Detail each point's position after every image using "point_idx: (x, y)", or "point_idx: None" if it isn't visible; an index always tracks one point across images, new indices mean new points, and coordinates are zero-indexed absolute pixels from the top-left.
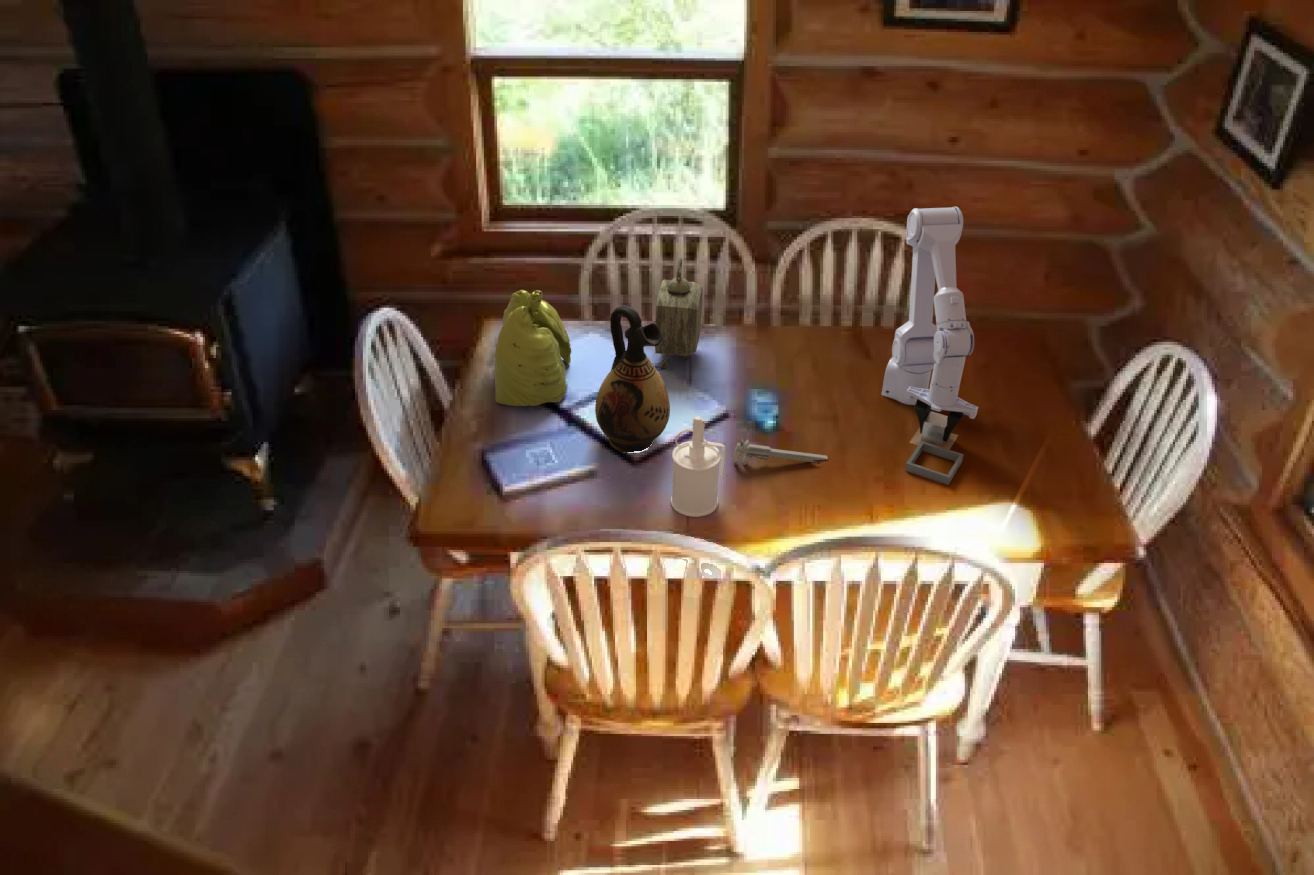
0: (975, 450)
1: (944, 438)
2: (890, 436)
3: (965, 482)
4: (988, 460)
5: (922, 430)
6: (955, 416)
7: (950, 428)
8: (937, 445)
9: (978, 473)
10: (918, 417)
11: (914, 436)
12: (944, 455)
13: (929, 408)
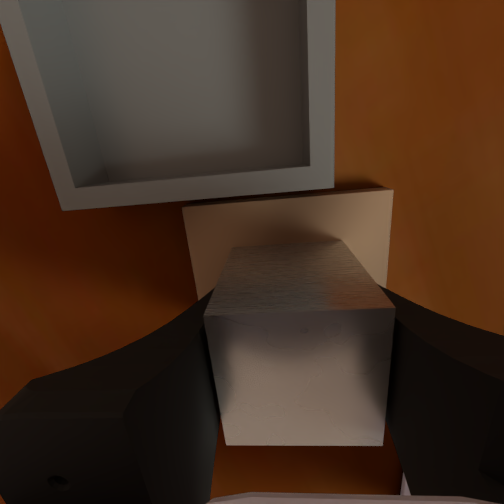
0: (122, 324)
1: None
2: (500, 209)
3: (5, 61)
4: (48, 293)
5: (363, 267)
6: (52, 473)
7: (164, 333)
8: (249, 248)
9: (15, 181)
10: (468, 326)
11: (383, 259)
12: (173, 176)
13: (418, 468)
